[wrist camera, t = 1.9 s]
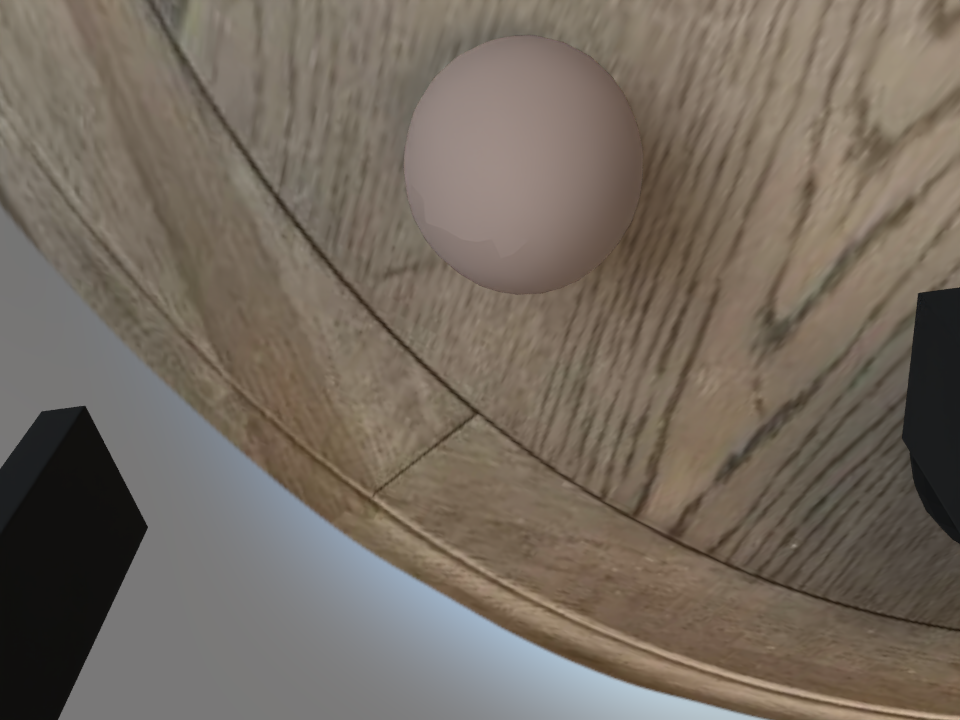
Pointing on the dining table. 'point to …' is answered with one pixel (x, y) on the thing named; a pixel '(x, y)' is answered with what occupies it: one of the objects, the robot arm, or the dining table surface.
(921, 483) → the lantern
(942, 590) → the dining table surface
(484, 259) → the egg
